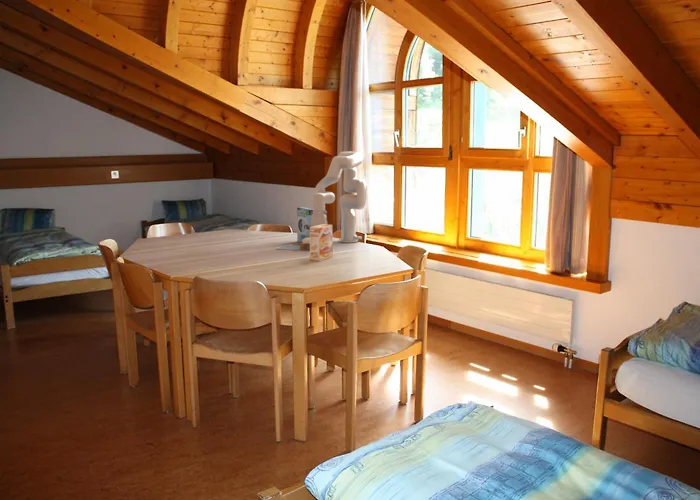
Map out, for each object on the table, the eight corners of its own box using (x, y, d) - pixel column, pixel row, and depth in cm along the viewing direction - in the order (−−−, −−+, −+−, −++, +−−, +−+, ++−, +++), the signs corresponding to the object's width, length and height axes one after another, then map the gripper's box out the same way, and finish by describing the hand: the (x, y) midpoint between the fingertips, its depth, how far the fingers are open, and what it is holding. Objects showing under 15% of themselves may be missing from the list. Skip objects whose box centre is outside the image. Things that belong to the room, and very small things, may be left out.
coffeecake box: (319, 261, 390) (319, 227, 387) (309, 260, 394) (309, 226, 390) (333, 257, 403) (332, 224, 400) (322, 255, 407) (322, 223, 403)
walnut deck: (320, 247, 436) (320, 240, 435) (313, 250, 422) (313, 244, 422) (306, 246, 438) (306, 240, 437) (299, 250, 425) (299, 243, 424)
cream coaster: (318, 241, 432) (318, 238, 432) (314, 243, 425) (314, 240, 424) (306, 241, 434) (306, 237, 434) (302, 243, 427) (302, 239, 426)
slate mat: (306, 246, 439) (306, 245, 439) (298, 250, 424) (298, 250, 424) (284, 245, 443) (284, 244, 443) (275, 249, 428) (275, 248, 428)
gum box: (297, 241, 457) (296, 207, 453) (303, 240, 460) (302, 207, 456) (314, 245, 442) (313, 210, 438) (320, 244, 445) (320, 209, 441)
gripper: (331, 212, 426) (332, 241, 430) (309, 211, 430) (309, 240, 433) (328, 213, 419) (328, 242, 422) (305, 212, 423) (305, 241, 426)
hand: (319, 241), depth 428 cm, fingers closed
